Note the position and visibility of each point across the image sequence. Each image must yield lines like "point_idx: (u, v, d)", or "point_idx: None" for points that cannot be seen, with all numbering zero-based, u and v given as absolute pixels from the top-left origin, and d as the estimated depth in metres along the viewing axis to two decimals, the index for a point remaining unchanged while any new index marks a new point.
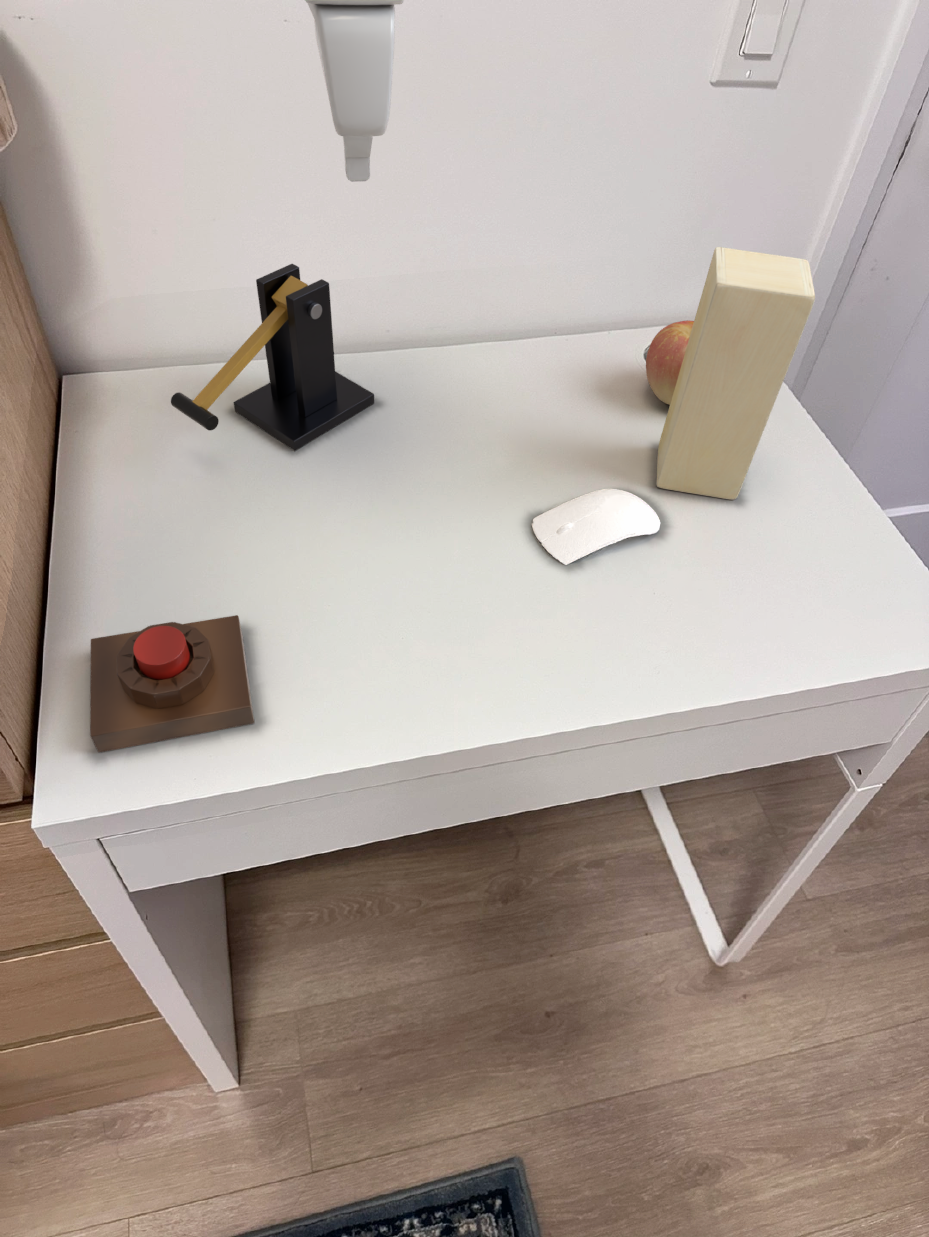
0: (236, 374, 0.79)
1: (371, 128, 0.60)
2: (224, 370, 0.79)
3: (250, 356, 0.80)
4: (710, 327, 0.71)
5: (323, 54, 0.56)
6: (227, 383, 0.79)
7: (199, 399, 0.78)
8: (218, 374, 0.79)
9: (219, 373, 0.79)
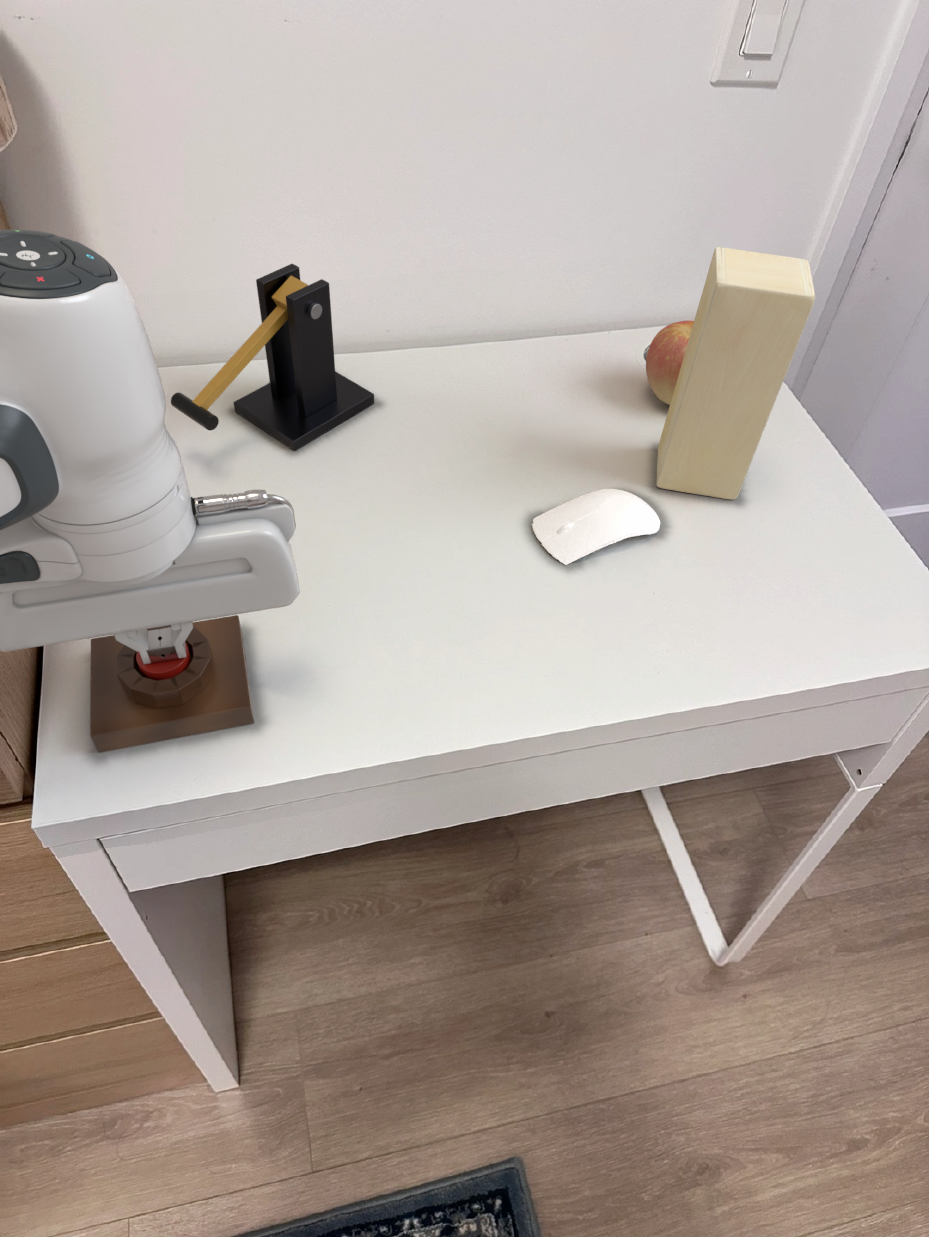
0: (236, 374, 0.79)
1: None
2: (224, 370, 0.79)
3: (250, 356, 0.80)
4: (710, 327, 0.71)
5: None
6: (227, 383, 0.79)
7: (199, 399, 0.78)
8: (218, 374, 0.79)
9: (219, 373, 0.79)
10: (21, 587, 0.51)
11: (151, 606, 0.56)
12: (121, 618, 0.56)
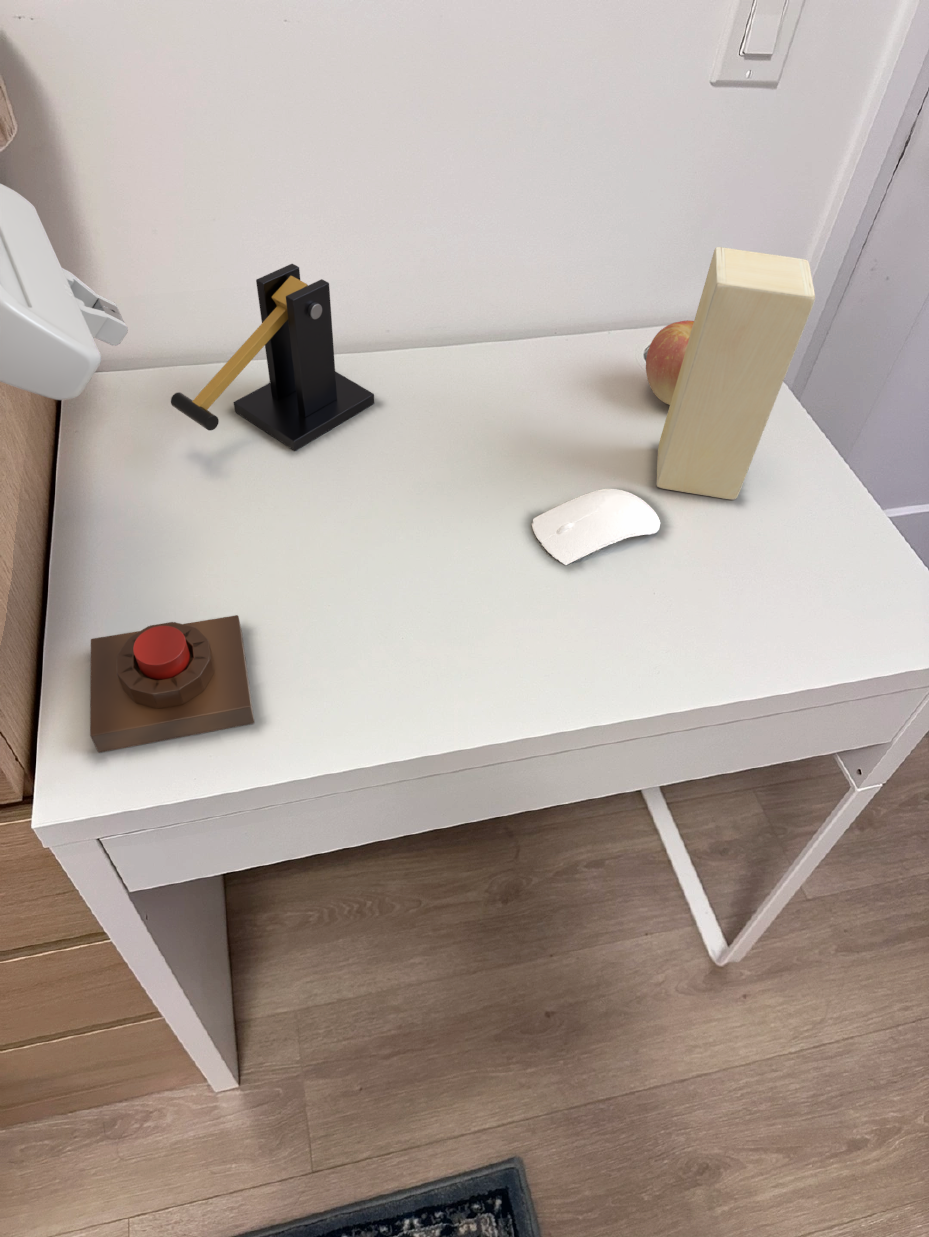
0: (236, 374, 0.79)
1: (86, 373, 0.52)
2: (224, 370, 0.79)
3: (250, 356, 0.80)
4: (710, 327, 0.71)
5: None
6: (227, 383, 0.79)
7: (199, 399, 0.78)
8: (218, 374, 0.79)
9: (219, 373, 0.79)
10: None
11: (30, 252, 0.55)
12: (48, 274, 0.55)
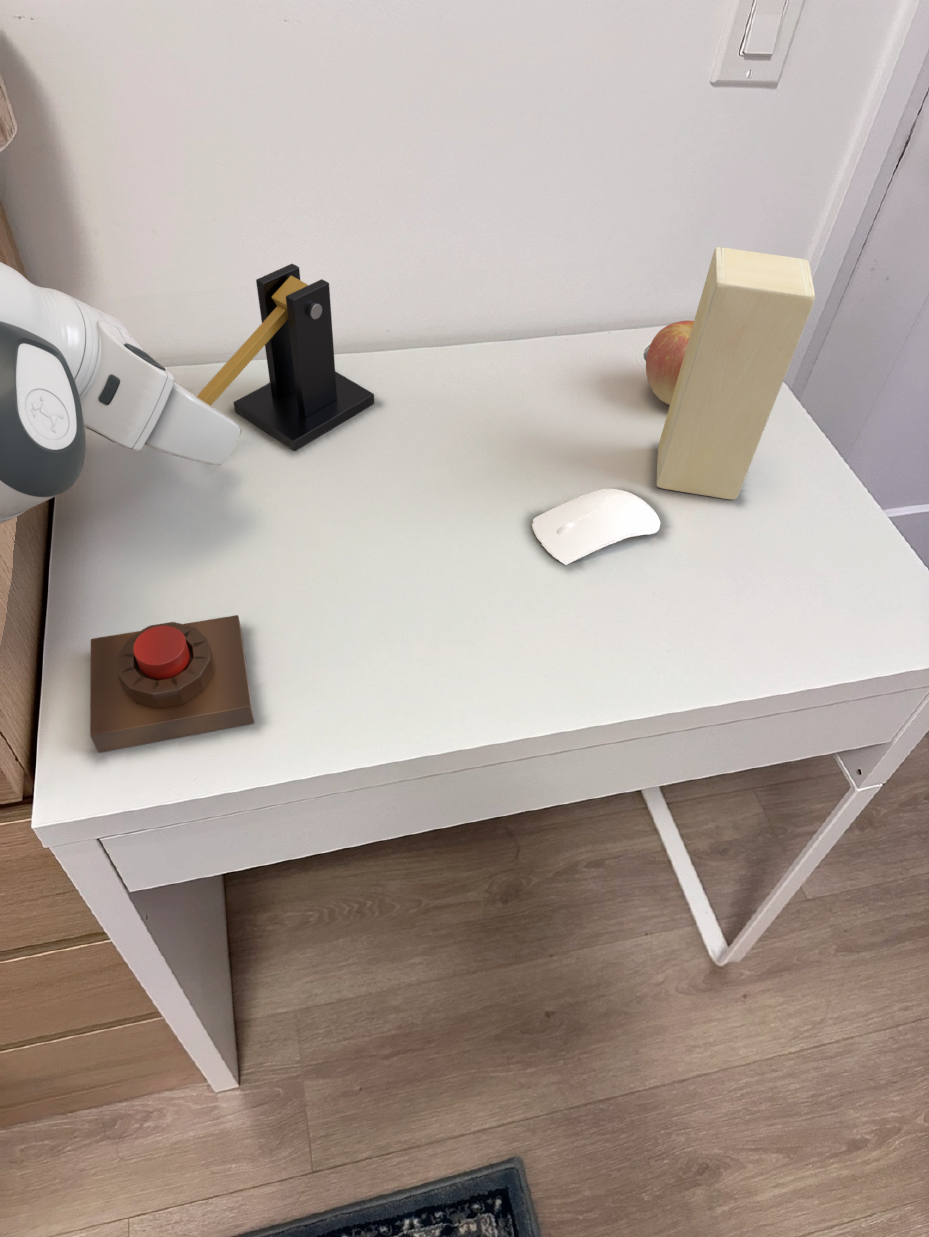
0: (236, 374, 0.79)
1: (236, 440, 0.70)
2: (224, 370, 0.79)
3: (250, 356, 0.80)
4: (710, 327, 0.71)
5: None
6: (227, 383, 0.79)
7: None
8: (218, 374, 0.79)
9: (219, 373, 0.79)
10: None
11: None
12: None
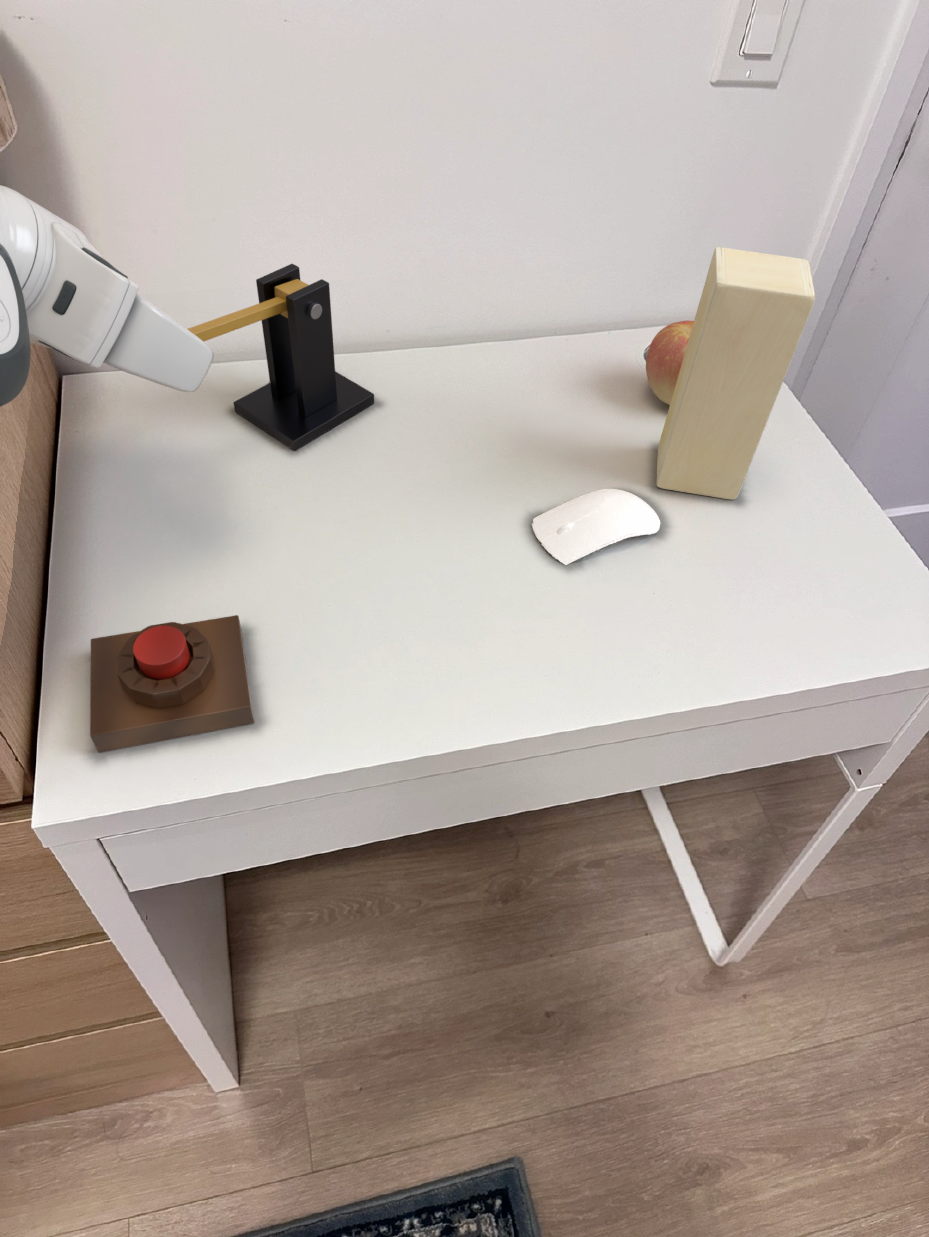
0: (220, 333, 0.75)
1: (208, 365, 0.64)
2: (210, 323, 0.75)
3: (238, 324, 0.76)
4: (710, 327, 0.71)
5: (141, 377, 0.61)
6: (208, 336, 0.75)
7: None
8: (202, 324, 0.75)
9: (203, 324, 0.75)
10: None
11: None
12: None
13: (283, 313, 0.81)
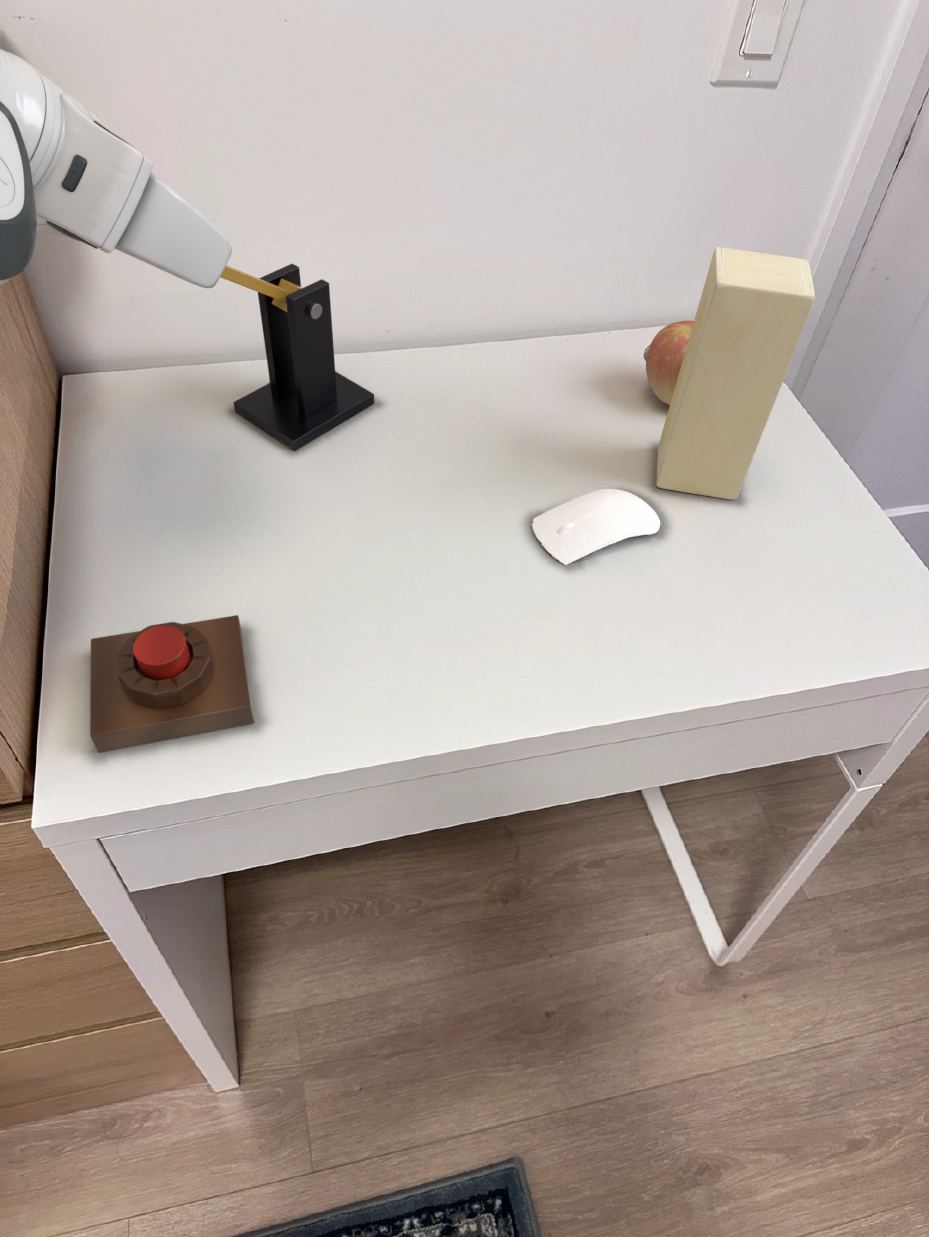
0: (226, 276, 0.73)
1: (226, 258, 0.60)
2: None
3: (245, 281, 0.75)
4: (710, 327, 0.71)
5: (156, 266, 0.57)
6: None
7: None
8: None
9: None
10: None
11: None
12: None
13: (280, 305, 0.80)
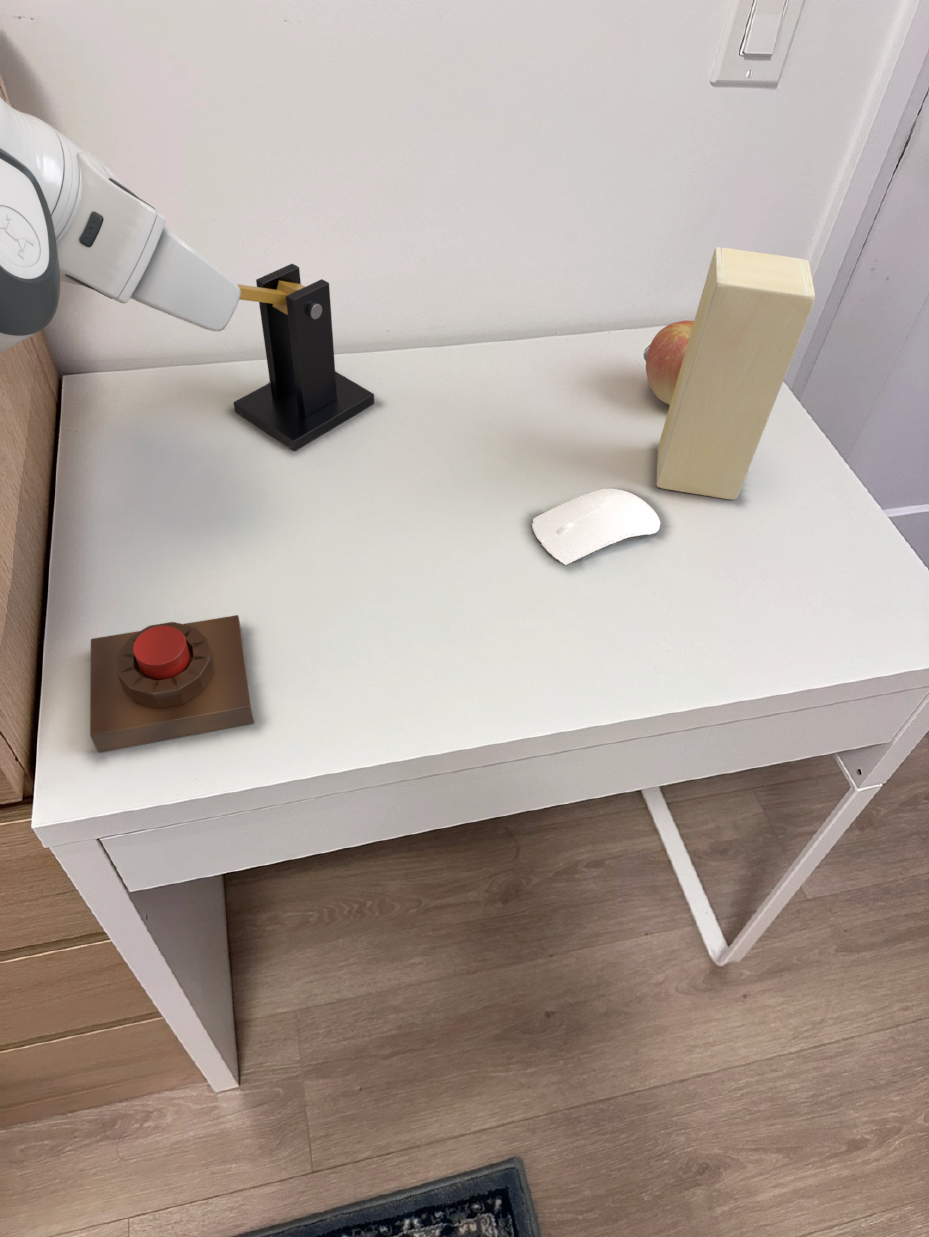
0: None
1: (235, 303, 0.63)
2: None
3: (241, 294, 0.75)
4: (710, 327, 0.71)
5: (168, 313, 0.60)
6: None
7: None
8: None
9: None
10: None
11: None
12: None
13: (281, 308, 0.80)
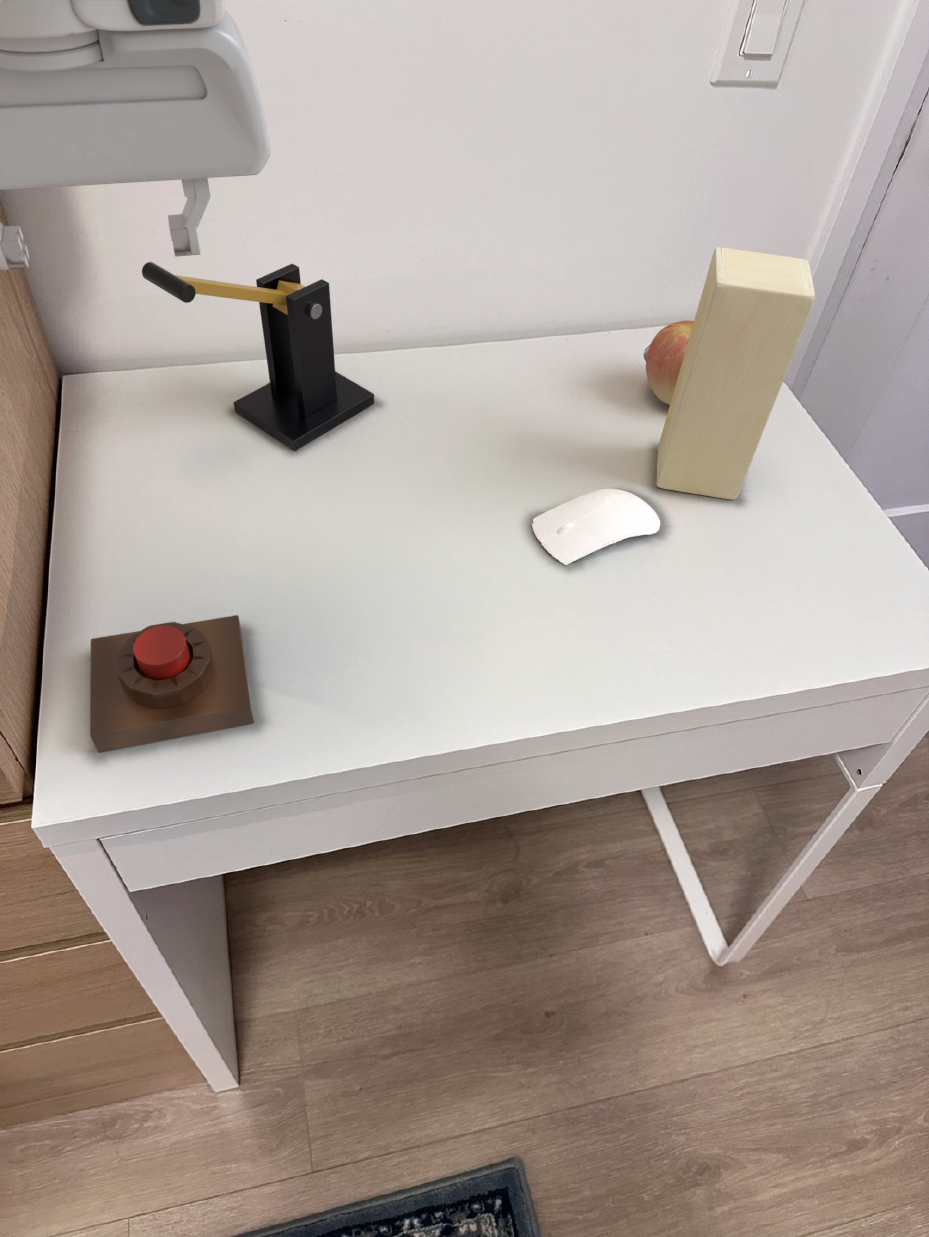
0: (222, 294, 0.73)
1: None
2: (214, 282, 0.73)
3: (241, 294, 0.75)
4: (710, 327, 0.71)
5: (247, 78, 0.43)
6: (211, 292, 0.72)
7: (180, 277, 0.70)
8: (207, 280, 0.73)
9: (208, 280, 0.73)
10: None
11: None
12: None
13: (281, 308, 0.80)
